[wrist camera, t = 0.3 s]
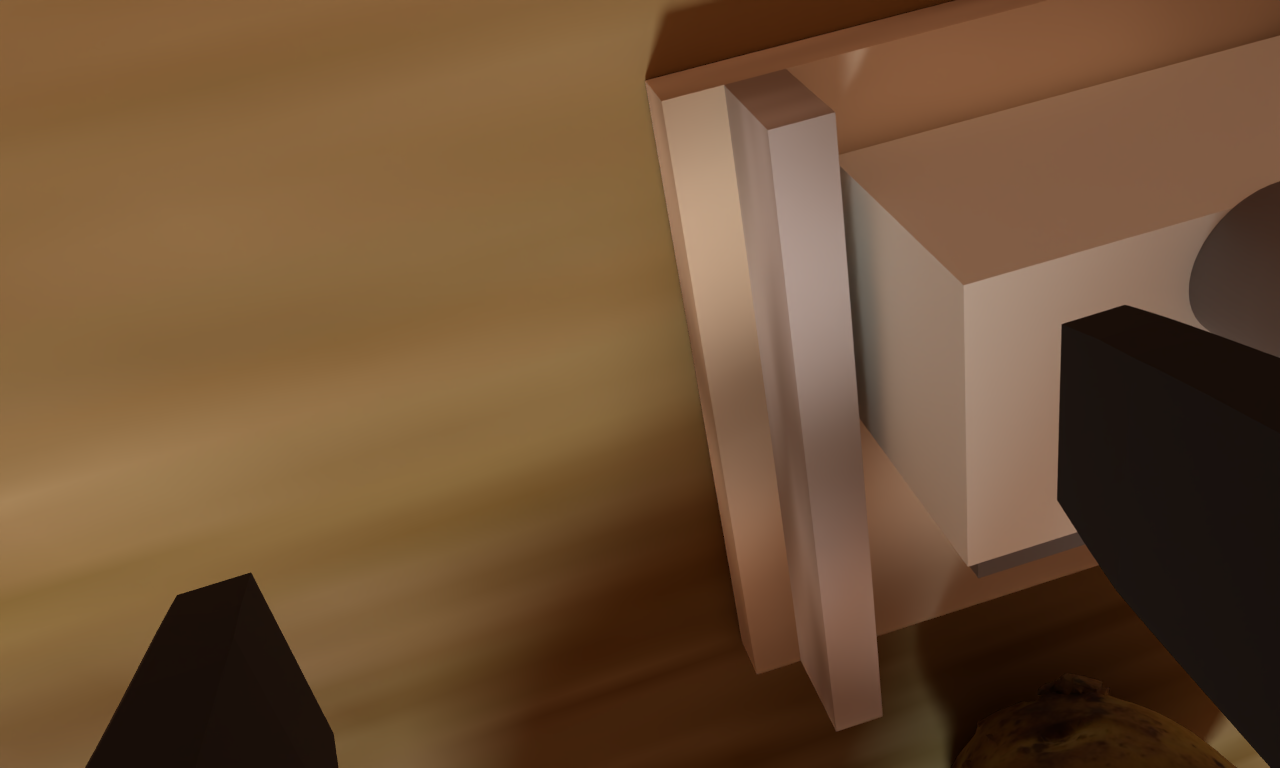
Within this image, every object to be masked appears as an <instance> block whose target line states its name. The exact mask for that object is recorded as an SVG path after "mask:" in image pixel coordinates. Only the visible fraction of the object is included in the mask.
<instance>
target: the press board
mask: <svg viewBox="0 0 1280 768" xmlns="http://www.w3.org/2000/svg"><path fill="white" fill-rule="evenodd" d="M1279 35H1280V0H955V1H951V2H947V3H943V4H939V5H935V6H932V7H928V8H924V9H920V10H916V11H912V12H908V13H904V14H901V15H897V16H893V17H889V18H885V19H881V20H877V21H874V22H870V23H866V24H862V25H858V26H854V27H850V28H846V29H843V30H839V31H835V32H831V33H827V34H823V35H819V36H816V37H812V38H808V39H804V40H800V41H796V42H792V43H788V44H785V45H781V46H777V47H773V48H769V49H765V50H761V51H758V52H754V53H750V54H746V55H742V56H738V57H734V58H730V59H727V60H723V61H719V62H715V63H711V64H707V65H703V66H700V67H696V68H692V69H688V70H684V71H680V72H676V73H672V74H669V75H665V76H661V77H657V78H653V79H649V80H645V83H646V89H647V95H648V101H649V106H650V112H651V118H652V124H653V130H654V135H655V141H656V147H657V153H658V158H659V164H660V170H661V176H662V182H663V187H664V193H665V199H666V205H667V211H668V216H669V222H670V228H671V234H672V240H673V245H674V251H675V257H676V263H677V268H678V274H679V280H680V286H681V292H682V297H683V303H684V309H685V315H686V321H687V326H688V332H689V338H690V344H691V350H692V355H693V361H694V367H695V373H696V378H697V384H698V390H699V396H700V402H701V407H702V413H703V419H704V425H705V431H706V436H707V442H708V448H709V454H710V460H711V465H712V471H713V477H714V483H715V488H716V494H717V500H718V506H719V512H720V517H721V523H722V529H723V535H724V541H725V546H726V552H727V558H728V564H729V570H730V575H731V581H732V587H733V593H734V598H735V604H736V610H737V616H738V622H739V627H740V633H741V639H742V643H743V645H744V648H745V650H746V652H747V654H748V656H749V659H750V661H751V663H752V665H753V667H754V670H755V672H756V674H757V675H758V674H761V673H764V672H767V671H770V670H773V669H776V668H780V667H783V666H786V665H789V664H792V663H795V662H798V661H801V662H802V664H803V666H804V668H805V670H806V672H807V674H808V676H809V678H810V680H811V682H812V684H813V686H814V688H815V690H816V692H817V694H818V696H819V698H820V700H821V702H822V704H823V706H824V708H825V710H826V712H827V714H828V716H829V718H830V720H831V722H832V724H833V726H834V728H835V730H836V732H837V731H840V730H843V729H846V728H849V727H852V726H855V725H858V724H861V723H864V722H867V721H870V720H873V719H876V718H879V717H882V716H883V713H882V700H881V687H880V675H879V662H878V649H877V637H876V636H879V635H882V634H886V633H889V632H892V631H895V630H898V629H901V628H904V627H907V626H911V625H914V624H917V623H920V622H923V621H926V620H929V619H932V618H935V617H939V616H942V615H945V614H948V613H951V612H954V611H957V610H960V609H964V608H967V607H970V606H973V605H976V604H979V603H982V602H985V601H988V600H992V599H995V598H998V597H1001V596H1004V595H1007V594H1010V593H1013V592H1016V591H1020V590H1023V589H1026V588H1029V587H1032V586H1035V585H1038V584H1041V583H1045V582H1048V581H1051V580H1054V579H1057V578H1060V577H1063V576H1066V575H1069V574H1073V573H1076V572H1079V571H1082V570H1085V569H1088V568H1091V567H1094V566H1098V565H1099V564H1098V563H1097V561H1096V560H1095V558H1094V557H1093V556H1092V554H1091V553H1090V551H1089V550H1088V548H1087V547H1086V545H1082V546H1079V547H1076V548H1072V549H1069V550H1066V551H1063V552H1060V553H1057V554H1054V555H1050V556H1047V557H1044V558H1041V559H1038V560H1035V561H1032V562H1028V563H1025V564H1022V565H1019V566H1016V567H1013V568H1010V569H1006V570H1003V571H1000V572H997V573H994V574H991V575H988V576H984V577H981V578H978V577H977V576H976V575H975V573H974V572H973V570H972V569H971V568H970V566H969V567H968V566H967V565H966V564H965V562H964V561H963V560H962V558H961V557H960V555H959V554H958V553H957V551H956V550H955V549H954V547H953V546H952V544H951V543H950V542H949V540H948V539H947V538H946V536H945V535H944V533H943V532H942V531H941V529H940V528H939V527H938V525H937V524H936V523H935V521H934V520H933V518H932V517H931V516H930V514H929V513H928V512H927V510H926V509H925V507H924V506H923V505H922V503H921V502H920V501H919V499H918V498H917V496H916V495H915V494H914V492H913V491H912V490H911V488H910V487H909V485H908V484H907V483H906V481H905V480H904V479H903V477H902V476H901V474H900V473H899V472H898V470H897V469H896V468H895V466H894V465H893V464H892V462H891V461H890V459H889V458H888V457H887V455H886V454H885V453H884V451H883V450H882V448H881V447H880V446H879V444H878V443H877V442H876V440H875V439H874V437H873V436H872V435H871V433H870V432H869V431H868V429H867V428H866V426H865V425H864V424H863V422H862V421H861V420H860V418H859V408H858V395H857V383H856V370H855V357H854V344H853V332H852V319H851V306H850V294H849V281H848V268H847V255H846V243H845V230H844V217H843V205H842V192H841V179H840V166H839V155H841V154H844V153H848V152H852V151H855V150H859V149H863V148H866V147H870V146H874V145H878V144H881V143H885V142H889V141H892V140H896V139H900V138H903V137H907V136H911V135H914V134H918V133H922V132H925V131H929V130H933V129H937V128H940V127H944V126H948V125H951V124H955V123H959V122H962V121H966V120H970V119H973V118H977V117H981V116H984V115H988V114H992V113H996V112H999V111H1003V110H1007V109H1010V108H1014V107H1018V106H1021V105H1025V104H1029V103H1032V102H1036V101H1040V100H1043V99H1047V98H1051V97H1055V96H1058V95H1062V94H1066V93H1069V92H1073V91H1077V90H1080V89H1084V88H1088V87H1091V86H1095V85H1099V84H1102V83H1106V82H1110V81H1114V80H1117V79H1121V78H1125V77H1128V76H1132V75H1136V74H1139V73H1143V72H1147V71H1150V70H1154V69H1158V68H1161V67H1165V66H1169V65H1173V64H1176V63H1180V62H1184V61H1187V60H1191V59H1195V58H1198V57H1202V56H1206V55H1209V54H1213V53H1217V52H1220V51H1224V50H1228V49H1232V48H1235V47H1239V46H1243V45H1246V44H1250V43H1254V42H1257V41H1261V40H1265V39H1268V38H1272V37H1276V36H1279Z"/></svg>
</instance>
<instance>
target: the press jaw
mask: <svg viewBox="0 0 1280 768" xmlns="http://www.w3.org/2000/svg"><path fill="white" fill-rule="evenodd" d="M839 166H840V179H841V192H842V205H843V217H844V230H845V243H846V255H847V268H848V281H849V294H850V306H851V319H852V332H853V344H854V357H855V370H856V383H857V395H858V408H859V418H860V420H861V421H862V422H863V424H864V425H865V426H866V428H867V429H868V431H869V432H870V433H871V435H872V436H873V437H874V439H875V440H876V442H877V443H878V444H879V446H880V447H881V448H882V450H883V451H884V453H885V454H886V455H887V457H888V458H889V459H890V461H891V462H892V464H893V465H894V466H895V468H896V469H897V470H898V472H899V473H900V474H901V476H902V477H903V479H904V480H905V481H906V483H907V484H908V485H909V487H910V488H911V490H912V491H913V492H914V494H915V495H916V496H917V498H918V499H919V501H920V502H921V503H922V505H923V506H924V507H925V509H926V510H927V512H928V513H929V514H930V516H931V517H932V518H933V520H934V521H935V523H936V524H937V525H938V527H939V528H940V529H941V531H942V532H943V533H944V535H945V536H946V538H947V539H948V540H949V542H950V543H951V544H952V546H953V547H954V549H955V550H956V551H957V553H958V554H959V555H960V557H961V558H962V560H963V561H964V562H965V564H966V565H967V566H968V567H969V566H970V568H971V569H972V570H973V572H974V573H975V575H976V576H977V577H978V578H981V577H984V576H988V575H991V574H994V573H997V572H1000V571H1003V570H1006V569H1010V568H1013V567H1016V566H1019V565H1022V564H1025V563H1028V562H1032V561H1035V560H1038V559H1041V558H1044V557H1047V556H1050V555H1054V554H1057V553H1060V552H1063V551H1066V550H1069V549H1072V548H1076V547H1079V546H1082V545H1085V543H1084V542H1083V540H1082V539H1081V537H1080V536H1079V534H1078V532H1077V531H1076V529H1075V528H1074V526H1073V524H1072V523H1071V521H1070V520H1069V518H1068V517H1067V515H1066V513H1065V512H1064V510H1063V509H1062V507H1061V506H1060V504H1059V502H1058V501H1057V477H1058V439H1059V401H1060V362H1061V324H1063V323H1067V322H1070V321H1073V320H1077V319H1080V318H1083V317H1086V316H1090V315H1093V314H1096V313H1099V312H1103V311H1106V310H1109V309H1112V308H1116V307H1119V306H1122V305H1128V306H1132V307H1135V308H1138V309H1142V310H1145V311H1149V312H1152V313H1155V314H1158V315H1161V316H1164V317H1167V318H1170V319H1173V320H1176V321H1179V322H1182V323H1185V324H1188V325H1191V326H1193V327H1196V328H1199V329H1202V330H1205V331H1207V332H1210V333H1213V334H1216V335H1219V336H1221V337H1224V338H1227V339H1230V340H1232V341H1235V342H1238V343H1241V344H1243V345H1246V346H1249V347H1252V348H1254V349H1257V350H1260V351H1263V352H1265V353H1268V354H1271V355H1273V356H1276V357H1279V358H1280V35H1279V36H1276V37H1272V38H1268V39H1265V40H1261V41H1257V42H1254V43H1250V44H1246V45H1243V46H1239V47H1235V48H1232V49H1228V50H1224V51H1220V52H1217V53H1213V54H1209V55H1206V56H1202V57H1198V58H1195V59H1191V60H1187V61H1184V62H1180V63H1176V64H1173V65H1169V66H1165V67H1161V68H1158V69H1154V70H1150V71H1147V72H1143V73H1139V74H1136V75H1132V76H1128V77H1125V78H1121V79H1117V80H1114V81H1110V82H1106V83H1102V84H1099V85H1095V86H1091V87H1088V88H1084V89H1080V90H1077V91H1073V92H1069V93H1066V94H1062V95H1058V96H1055V97H1051V98H1047V99H1043V100H1040V101H1036V102H1032V103H1029V104H1025V105H1021V106H1018V107H1014V108H1010V109H1007V110H1003V111H999V112H996V113H992V114H988V115H984V116H981V117H977V118H973V119H970V120H966V121H962V122H959V123H955V124H951V125H948V126H944V127H940V128H937V129H933V130H929V131H925V132H922V133H918V134H914V135H911V136H907V137H903V138H900V139H896V140H892V141H889V142H885V143H881V144H878V145H874V146H870V147H866V148H863V149H859V150H855V151H852V152H848V153H844V154H841V155H839Z"/></svg>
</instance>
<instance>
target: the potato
mask: <svg viewBox="0 0 1280 768" xmlns="http://www.w3.org/2000/svg"><path fill="white" fill-rule="evenodd" d="M1109 689H1110V687H1109V688H1103V687H1102V681H1100V680H1097V679H1093V678H1088V677H1086V676H1083V675H1077V674H1072V673H1066V674H1064V675H1062V676H1061V677H1060V679H1058V680H1056V681H1054V682H1051V683H1047V684H1044V685H1043V686H1042V687H1040V688H1039V689H1038V695H1042V696H1041V697H1040V698H1039V699H1038V700H1035V701H1032V702H1025V701H1023V702H1020V703H1017V704H1015V705H1012V706H1010V707H1007V708H1005V709H1002V710H1000V711H996V712H995V713H993V714H991V715H990V716H988V717H986V718H985V719H983V720H981V721H979V722H977V729H976V733H975V735H974V736H973V737H972V739H971V740H970V741H969V742H968V744H967V745H966V746H965V747H964V749H963V750H962V751H961V752H960V754H959V755H958V756H957V758H956V759H955V761H954V763H953V765H952V767H951V768H1237V767H1235V766H1234V765H1233V764H1231V763H1230V762H1229V761H1228V760H1227V759H1226V758H1224V757H1223V756H1222V755H1221V754H1220V753H1219V752H1218V751H1216V750H1215V749H1214V748H1212V747H1211V746H1210V745H1209V744H1207V743H1206V742H1205V741H1203V740H1202V739H1201V738H1200V737H1198V736H1197V735H1196V734H1194V733H1193V732H1192V731H1190V730H1188V729H1187V728H1185V727H1183V726H1182V725H1180V724H1178V723H1176V722H1175V721H1173V720H1171V719H1169V718H1167V717H1165V716H1163V715H1161V714H1159V713H1157V712H1155V711H1153V710H1150V709H1148V708H1145V707H1143V706H1140V705H1138V704H1135V703H1132V702H1128V701H1125V700H1121V699H1118V698H1115V697H1113V696H1110V695H1108V693H1109Z"/></svg>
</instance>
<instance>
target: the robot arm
mask: <svg viewBox="0 0 1280 768" xmlns="http://www.w3.org/2000/svg"><path fill="white" fill-rule="evenodd" d="M1057 501H1058V502H1059V504H1060V506H1061V507H1062V509H1063V510H1064V512H1065V513H1066V515H1067V517H1068V518H1069V520H1070V521H1071V523H1072V524H1073V526H1074V528H1075V529H1076V531H1077V532H1078V534H1079V536H1080V537H1081V539H1082V540H1083V542H1084V543H1085V545H1086V547H1087V548H1088V550H1089V551H1090V553H1091V554H1092V556H1093V557H1094V558H1095V560H1096V561H1097V563H1098V564H1099V566H1100V567H1101V569H1102V570H1103V572H1104V573H1105V575H1106V576H1107V577H1108V579H1109V580H1110V582H1111V583H1112V585H1113V586H1114V588H1115V589H1116V591H1117V592H1118V593H1119V594H1120V595H1121V596H1122V598H1123V599H1124V600H1125V601H1126V602H1127V604H1128V605H1129V606H1130V607H1131V608H1132V610H1133V611H1134V612H1135V613H1136V614H1137V615H1138V617H1139V618H1140V619H1141V620H1142V621H1143V622H1144V624H1145V625H1146V626H1147V627H1148V628H1149V629H1150V631H1151V632H1152V633H1153V634H1154V635H1155V636H1156V637H1157V639H1158V640H1159V641H1160V642H1161V643H1162V644H1163V646H1164V647H1165V648H1166V649H1167V650H1168V651H1169V653H1170V654H1171V655H1172V656H1173V657H1174V658H1175V659H1176V661H1177V662H1178V663H1179V664H1180V665H1181V666H1182V667H1183V669H1184V670H1185V671H1186V672H1187V673H1188V674H1189V675H1190V677H1191V678H1192V679H1193V680H1194V681H1195V682H1196V683H1197V684H1198V686H1199V687H1200V688H1201V689H1202V690H1203V691H1204V692H1205V694H1206V695H1207V696H1208V697H1209V698H1210V699H1211V700H1212V702H1213V703H1214V704H1215V705H1216V706H1217V707H1218V708H1219V709H1220V711H1221V712H1222V713H1223V714H1224V715H1225V716H1226V717H1227V719H1228V720H1229V721H1230V722H1231V723H1232V724H1233V725H1234V727H1235V728H1236V729H1237V730H1238V731H1239V732H1240V733H1241V735H1242V736H1243V737H1244V738H1245V739H1246V740H1247V741H1248V742H1249V744H1250V745H1251V746H1252V747H1253V748H1254V749H1255V750H1256V752H1257V753H1258V754H1259V755H1260V756H1261V757H1262V758H1263V760H1264V761H1265V762H1266V763H1267V764H1268V765H1269V766H1270V768H1280V358H1279V357H1276V356H1273V355H1271V354H1268V353H1265V352H1263V351H1260V350H1257V349H1254V348H1252V347H1249V346H1246V345H1243V344H1241V343H1238V342H1235V341H1232V340H1230V339H1227V338H1224V337H1221V336H1219V335H1216V334H1213V333H1210V332H1207V331H1205V330H1202V329H1199V328H1196V327H1193V326H1191V325H1188V324H1185V323H1182V322H1179V321H1176V320H1173V319H1170V318H1167V317H1164V316H1161V315H1158V314H1155V313H1152V312H1149V311H1145V310H1142V309H1138V308H1135V307H1132V306H1128V305H1122V306H1119V307H1116V308H1112V309H1109V310H1106V311H1103V312H1099V313H1096V314H1093V315H1090V316H1086V317H1083V318H1080V319H1077V320H1073V321H1070V322H1067V323H1063V324H1061V362H1060V401H1059V439H1058V477H1057ZM85 768H338V762H337V755H336V748H335V741H334V734H333V732H332V730H331V728H330V726H329V724H328V722H327V720H326V718H325V716H324V714H323V712H322V710H321V708H320V706H319V704H318V702H317V700H316V698H315V697H314V695H313V693H312V691H311V689H310V687H309V685H308V683H307V681H306V679H305V677H304V675H303V673H302V671H301V669H300V667H299V665H298V663H297V661H296V659H295V657H294V655H293V654H292V652H291V650H290V648H289V646H288V644H287V642H286V640H285V638H284V636H283V634H282V632H281V630H280V628H279V626H278V624H277V622H276V620H275V618H274V616H273V614H272V612H271V610H270V609H269V607H268V605H267V603H266V601H265V599H264V597H263V595H262V593H261V591H260V589H259V587H258V585H257V583H256V581H255V579H254V577H253V575H252V573H248V574H245V575H241V576H238V577H235V578H232V579H228V580H225V581H222V582H219V583H215V584H212V585H209V586H206V587H202V588H199V589H196V590H193V591H189V592H186V593H183V594H179V595H177V596H176V598H175V600H174V602H173V603H172V605H171V607H170V608H169V610H168V612H167V614H166V616H165V618H164V619H163V621H162V623H161V625H160V627H159V629H158V630H157V632H156V634H155V636H154V638H153V640H152V642H151V644H150V646H149V648H148V650H147V652H146V654H145V655H144V657H143V659H142V661H141V663H140V665H139V667H138V669H137V671H136V673H135V675H134V677H133V679H132V681H131V683H130V684H129V686H128V688H127V690H126V692H125V694H124V696H123V698H122V700H121V702H120V704H119V706H118V707H117V709H116V711H115V713H114V715H113V717H112V719H111V721H110V723H109V725H108V726H107V728H106V730H105V732H104V734H103V736H102V738H101V740H100V742H99V744H98V745H97V747H96V749H95V751H94V753H93V754H92V756H91V758H90V760H89V762H88V763H87V765H86V767H85Z"/></svg>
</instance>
